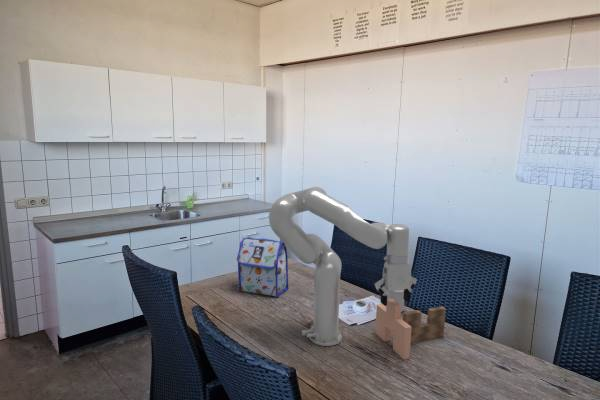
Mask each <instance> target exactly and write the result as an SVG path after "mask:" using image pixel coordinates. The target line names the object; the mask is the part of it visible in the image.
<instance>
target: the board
mask: <svg viewBox="0 0 600 400" xmlns="http://www.w3.org/2000/svg"><path fill="white" fill-rule="evenodd" d="M402 312H403V313H402V320H403V321H405V322H406V323H407V324H409V325H410V326H411V327H412V330H411V344H413V343H419V342H420V343H421V342H424V341H431V340H437V339H440V338H441V339H442V338H444V337H445V335H444V334H445V324H446V323H445V322H446V314H447V313H446V312H447V308H445V307H444V306H437V307H431V308H428V309H427V317H426V318H427V321H426V322H425V323H422V322H421V321H422V311H420V310H418V309H417V310H411V311H410V310H409V311H402Z"/></svg>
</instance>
